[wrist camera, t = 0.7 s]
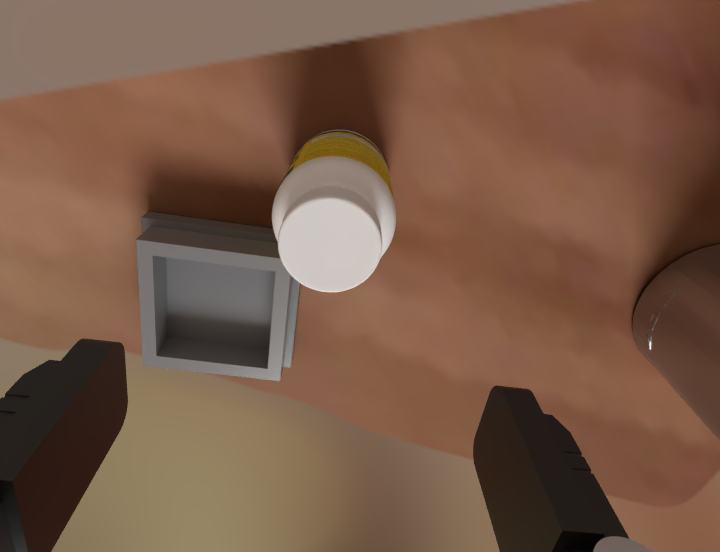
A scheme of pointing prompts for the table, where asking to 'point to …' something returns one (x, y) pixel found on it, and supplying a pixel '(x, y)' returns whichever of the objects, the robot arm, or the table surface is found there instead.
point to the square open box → (214, 297)
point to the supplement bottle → (334, 211)
